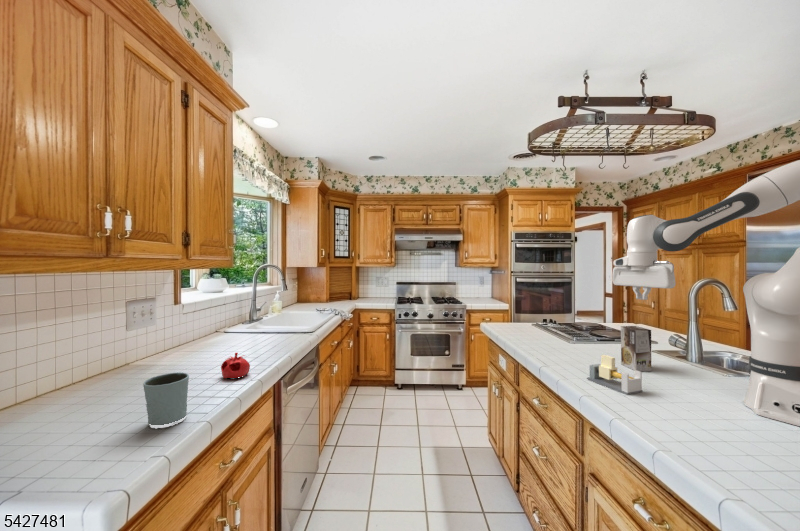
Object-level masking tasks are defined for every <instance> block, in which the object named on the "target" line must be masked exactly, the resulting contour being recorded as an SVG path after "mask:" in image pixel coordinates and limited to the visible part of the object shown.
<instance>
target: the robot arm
mask: <svg viewBox="0 0 800 531" xmlns="http://www.w3.org/2000/svg"><path fill="white" fill-rule="evenodd" d="M799 201H800V159H799V160H795V161H792V162H790V163H787V164H785V165H782V166H781V165H780V166H779V167H777V168H774V169H772V170H769V171H767V172H766V173H763V174H760V175H759V176H757V177H754V178H753V179H751V180H749V181H748V182H746V183H744V184H743V185H742V186H740V187H739V188H737V189H735V190H734V191H732V192H731V194H729V195H728V196H726V198H724V199H722V200H721V201H719V202H717V203H715V204H714V205H711V206H709V207H707V208H705V209H702V210H700V211H698V212H696V213H694V214H691V215H689V216H687V217H682V218H673V219H668V220H667V219H663V218H661V217H658V216H656V215H654V214H643V215H639V216H636V217H634V218H632V219H630V220H629V222H628V224H627V229H626V244H627V249H626V250H627V251H626V255H624V256H623V257H620V258H617V259H614V260H613V263H612V264H613V266H614V267H613V269H612V276H611V277H612V278H611V280H612V284H613V285H614V286H621V287H622V286H624V287H632V290H633V293H634V294H635V300H642V301H647V300H648V295H649V294H650V293H651V291H652V288H653V289H674V288H675V287H676V285H677V284H676V275H675V265H674V264H673V263H672V262H671V261H670V260H658V250H662V251H666V252H680V251H681V250H684V249H686V248H688V247H689V246H690V245H691V244H692V243H693V242H694V241H695V240H696V239H697V238H698V237H700V236H701V235H703V234H705V233H707V232H709V231H712V230H714V229H716V228H718V227H720V226H722V225H724V224H727V223H729V222H733V221H734V220H738V219H744V218H752V217H753V218H754V217H758V216H762V215H766V214H768V213H772V212H775V211H777V210H780V209H783V208H785V207H787V206H789V205H791V204H794V203H796V202H799ZM641 289H642V291H643V292H641V291H640V290H641ZM742 291H743V294H744V298H745V299H744V300H745V307H746V311H747V312H746V313H747V317H748V322H749V325H750V326H749V327H750V328H749V329H750V356H748V374H749V375H750V376H749V382H748V388H747V390H746V391H747V392H746V394H745V397H744V399H743V402H742V403H743V405H745V406H746V407H747V408H749V409H751V410H752V411H753V412H754V414H756V415H759V416H760V417H764V418H768V419H772V420H776V421H778V422H779V421H780V422H782V423H787V424H790V425H794V426H798V427H800V246H799V247H798V248H796V250H795V251H794V253H793V255H792V256H791V257H790V258H789V259H788V260H787V261H786V263H784V265H782V266H781V268H780V269H778V270H776V271H775V272H763V273H759V274H756V275H754V276H753V277H751V278H749V279H748V280H747V281H745V282H744V285H743V288H742Z"/></svg>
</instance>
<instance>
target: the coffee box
mask: <svg viewBox="0 0 800 531" xmlns="http://www.w3.org/2000/svg"><path fill="white" fill-rule="evenodd" d="M620 350H621V352H620V353H621V354H620V356H621V357H620V358H621V359H620V360H621V362H620V363H621V365H622V366H624V367H626V368H628V369H631V370H633V371H634V370H637V371H640V372H652V329H649V328H645V327H640V326H637V325H623V326H622V325H621V326H620Z"/></svg>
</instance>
